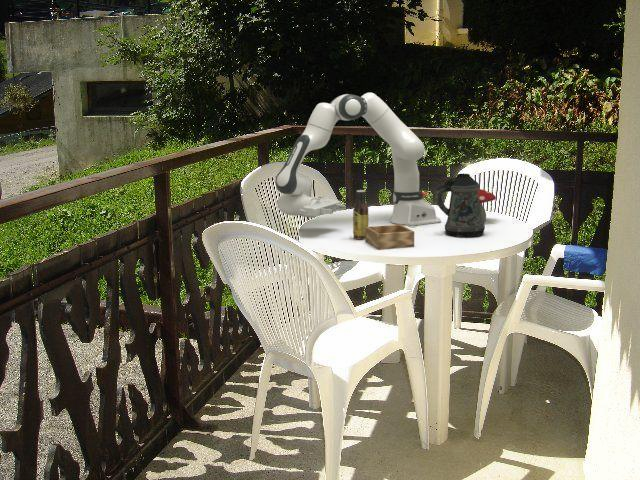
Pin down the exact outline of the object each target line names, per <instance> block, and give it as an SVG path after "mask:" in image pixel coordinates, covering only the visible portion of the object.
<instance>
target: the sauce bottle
mask: <svg viewBox="0 0 640 480" xmlns="http://www.w3.org/2000/svg"><path fill="white" fill-rule="evenodd" d="M355 195H356V196H355V197H356V198H355V199H356V200H355V204H354V207H353V211H352V218H353V219H352V220H353V221H352V222H353V223H352V226H353V227H352V228H353V229H352V234H353V239H355V240H366V237H365V227H369V219H370V218H369V205H368V204H367V202H366V201H367V200H366V196H367V190H363V189H359V190H358V189H357V190H356V191H355Z"/></svg>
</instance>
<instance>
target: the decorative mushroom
mask: <svg viewBox="0 0 640 480" xmlns="http://www.w3.org/2000/svg"><path fill="white" fill-rule="evenodd" d="M478 196H479V203H480V210H481V216H482V220H483V223H484V222H486V220H487V213H486V209H485V207H484V206H483V204H485V203H487V202H491V201H495V200H496V199H497V197H496V195H495V194H493V193H492V192H491V191H488V190H485V189H482V188H479V190H478Z"/></svg>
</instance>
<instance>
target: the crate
mask: <svg viewBox="0 0 640 480" xmlns="http://www.w3.org/2000/svg"><path fill="white" fill-rule="evenodd" d="M365 237H366V239H365V242H366V243H367V244H368V245H370V246H371V247H373V248H375V249H376V250H378V251H379V250H390V249H402V248H415V231H414V230H412V229H410V228H408V227H406V226H405V225H404V224H389V225H388V224H386V225H375V226H368V227H365Z"/></svg>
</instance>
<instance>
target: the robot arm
mask: <svg viewBox="0 0 640 480" xmlns="http://www.w3.org/2000/svg"><path fill="white" fill-rule="evenodd" d="M360 117H362V118H364V119H365V121H366V122H367V123H368V125H370V127H372V129H374V131H375V132H376V133H377V134H378V135H379V137H380V138H382V140H384V141H385V143H387V144H388V145H389V146H390V150H391V158H392V166H393V173H394V177H393V178H394V181H393V182H394V184H393V185H394V186H393V187H394V190H393V192H392V193H393V194H392V201H393V209H392V213H391V214H392V215H391V218H390V222H391V223H393V224H394V225H399V224H401V225H403V226H405V225H407V226H420V225H429V224H437V223H442V222H441V221H442V219H441V218H440V217H438V216H437V213H436V210H435V208H434V206H433V205H432V204H430V203H429V202H428V201H427V200H426V199H424V197H425V198H426V197H427V195H428V193H427V192H425V191H422V190H420V171H419V169H418V168H419V167H418V162H417V161H418V160H420V159H422V157H423V156H424V154H425V149H426V148H425V145H424V143H423V141H422V140H421V139H420V138H419V137H418V136H417V135H416V134H415V133H414V132H413V131H412V130H411V128H409V127H408V126H407V125H406V124H405V123H404V122H403V121H402V120H401V119H400V118H399V117H398V116H397V115H396V114H395V112H393V111H392V109H391V108H390V107H389V106H388V104H387V103H386V102H384V100H383V99H381V97H379V96H377V94H376V93H373V92H366V93H364V94H363V95H361V96H358V95H355V94H348V93H346V94H342V95H338V96H337V97H335V98H334V99H333V100H332V101H330V102H329V103H328V102H319V103H318V104H316V106H315V108H314V109H313V110H312V113H311V114H310V117H309V118H308V121H307V124H306V127H305V129H304V130H303V132H302V134H301V135H300V136H299V137H297V139H296V141H295V142H294V145H293V146H292V149H291V150H290V153H289V155H288V156H287V159H286V160H285V162H284V164H283V167H282V168H281V169H280V170H279V172H278V173H277V174H276V175H277V176H276V177H275V181H274V182H275V187H276V190H277V191H278V192H279V193H281V194H280V196H278V198H277V202H276V203H277V204H276V205H277V208H278V211H280V212H281V213H282V214H283V215H284V214H285V215H289V216H293V217H299V216H301V217H305V218H311V219H314V218H316V217H319V216H323V215H333V214H334V212H335V211H336V212H337V211H345V210H346V206H345V205H343V204H342V201H340V200H338V199H331V198H326V197H325V196H310V195H311V193H312V189H313V183H312V180H311V178H309V176H306V175H304V174H301V173H298V170H299V169H300V166H301V164H302V162H303V160H304V158H305V156H306V155H307V154H308V153H309V152H311V151H315V150H319V149H323V148H324V147H326V145H327V144H328V142H329V141H330V139H331V135H332V133H333V131H334V130H333V129H334V127H335V125H336V123H337V122H339V121H354V120H356V119H358V118H360Z"/></svg>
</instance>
